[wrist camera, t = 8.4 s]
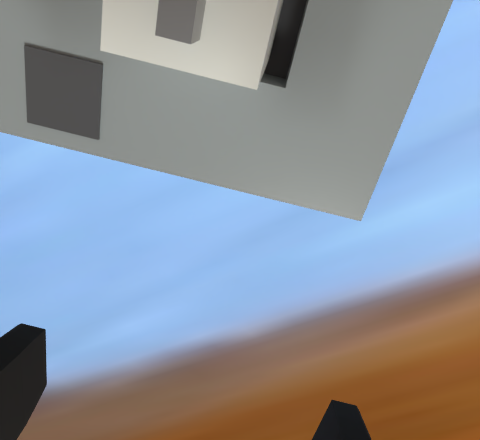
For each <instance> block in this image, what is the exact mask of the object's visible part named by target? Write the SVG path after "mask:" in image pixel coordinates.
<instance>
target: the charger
mask: <svg viewBox="0 0 480 440" xmlns="http://www.w3.org/2000/svg"><path fill="white" fill-rule="evenodd" d="M282 4H283V0H103V5H102V26H101V46H100V51H104V52H108V53H112V54H116V55H120V56H124V57H128V58H132V59H136V60H140V61H144V62H148V63H152V64H156V65H160V66H164V67H168V68H172V69H176V70H180V71H184V72H188V73H192V74H195V75H199V76H203V77H207V78H211V79H215V80H219V81H223V82H227V83H231V84H235V85H239V86H243V87H247V88H251V89H255V90H257V89H258V86H259V84H260V81H261V79H262V76H263V73H264V71H265V68H266V66H267V63H268V60H269V58H270V54H271V49H272V45H273V41H274V37H275V33H276V29H277V25H278V20H279V16H280V12H281V8H282Z"/></svg>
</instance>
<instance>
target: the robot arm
mask: <svg viewBox="0 0 480 440" xmlns="http://www.w3.org/2000/svg"><path fill="white" fill-rule="evenodd" d="M46 385H47V376H46V332H45V329H42V328H38V327H34V326H30V325H26V324H19V325H17V326H16V327H14V328H13V329H12V330H10V331H9V332H7V333H6V334H5V335H3V336H2V337H0V440H17V438H18V436H19V435H20V433H21V432H22V430H23V429H24V427H25V426H26V424H27V422H28V420H29V418H30V416H31V414H32V412H33V411H34V409H35V407H36V405H37V403H38V401H39V399H40V397H41V395H42V393H43V391H44V389H45V387H46ZM312 440H371V437H370V435H369V433H368V430H367V428H366V426H365V423H364V421H363V419H362V416H361V414H360V412H359V409H358V408H357V406H355V405H351V404H347V403H343V402H339V401H335V400H332V401H331V403H330V405H329V407H328V409H327V411H326V413H325V415H324V417H323V419H322V421H321V423H320V425H319V427H318V429H317V431H316V433H315V435H314V437H313V439H312Z"/></svg>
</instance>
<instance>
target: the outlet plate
mask: <svg viewBox="0 0 480 440" xmlns="http://www.w3.org/2000/svg"><path fill="white" fill-rule="evenodd" d="M452 2H453V0H283V4H282V8H281V12H280V16H279V20H278V25H277V29H276V33H275V37H274V41H273V45H272V49H271V54H270V58H269V60H268V63H267V66H266V68H265V71H264V73H263V76H262V79H261V81H260V84H259V86H258V89H257V90H255V89H251V88H247V87H243V86H239V85H235V84H231V83H227V82H223V81H219V80H215V79H211V78H207V77H203V76H199V75H195V74H192V73H188V72H184V71H180V70H176V69H172V68H168V67H164V66H160V65H156V64H152V63H148V62H144V61H140V60H136V59H132V58H128V57H124V56H120V55H116V54H112V53H108V52H104V51H100V46H101V26H102V5H103V0H0V132H3V133H7V134H11V135H15V136H19V137H23V138H27V139H31V140H35V141H39V142H43V143H47V144H51V145H55V146H59V147H63V148H67V149H72V150H76V151H80V152H84V153H88V154H92V155H96V156H100V157H104V158H108V159H112V160H116V161H120V162H124V163H128V164H132V165H136V166H140V167H144V168H148V169H152V170H156V171H160V172H164V173H168V174H173V175H177V176H181V177H185V178H189V179H193V180H197V181H201V182H205V183H209V184H213V185H217V186H221V187H225V188H229V189H233V190H237V191H241V192H245V193H249V194H253V195H257V196H261V197H265V198H269V199H273V200H278V201H282V202H286V203H290V204H294V205H298V206H302V207H306V208H310V209H314V210H318V211H322V212H326V213H330V214H334V215H338V216H342V217H346V218H350V219H354V220H358V221H361V220H362V217H363V215H364V212H365V210H366V208H367V205H368V203H369V200H370V198H371V196H372V193H373V191H374V188H375V186H376V184H377V181H378V179H379V176H380V174H381V172H382V169H383V167H384V164H385V162H386V160H387V157H388V155H389V152H390V150H391V148H392V145H393V143H394V140H395V138H396V136H397V133H398V131H399V129H400V126H401V124H402V121H403V119H404V117H405V114H406V112H407V109H408V107H409V105H410V102H411V100H412V97H413V95H414V93H415V90H416V88H417V85H418V83H419V81H420V78H421V76H422V73H423V71H424V69H425V66H426V64H427V61H428V59H429V57H430V54H431V52H432V49H433V47H434V45H435V42H436V40H437V38H438V35H439V33H440V30H441V28H442V26H443V23H444V21H445V18H446V16H447V14H448V11H449V9H450V6H451V4H452Z"/></svg>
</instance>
